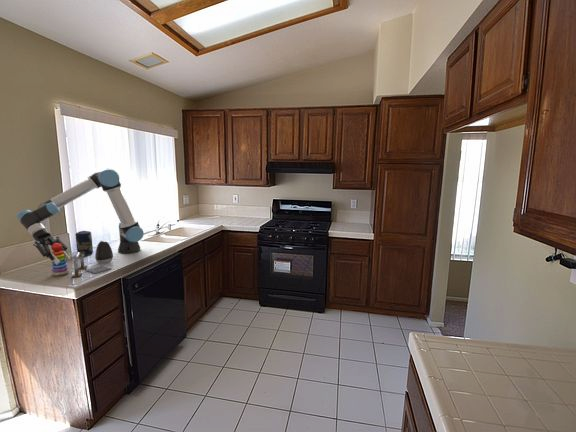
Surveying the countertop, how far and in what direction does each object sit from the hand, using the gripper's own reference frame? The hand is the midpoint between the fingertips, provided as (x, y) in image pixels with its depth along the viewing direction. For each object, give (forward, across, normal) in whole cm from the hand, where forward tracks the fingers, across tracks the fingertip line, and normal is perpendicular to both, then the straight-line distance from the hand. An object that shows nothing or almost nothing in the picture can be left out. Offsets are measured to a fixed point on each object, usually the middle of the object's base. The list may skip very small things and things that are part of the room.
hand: (63, 261), depth 172 cm
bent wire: (+9, -6, -3) cm, 11 cm away
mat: (+14, -12, +2) cm, 18 cm away
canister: (-12, -36, -25) cm, 45 cm away
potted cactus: (+8, -25, -5) cm, 27 cm away
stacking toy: (+3, 0, -8) cm, 9 cm away
